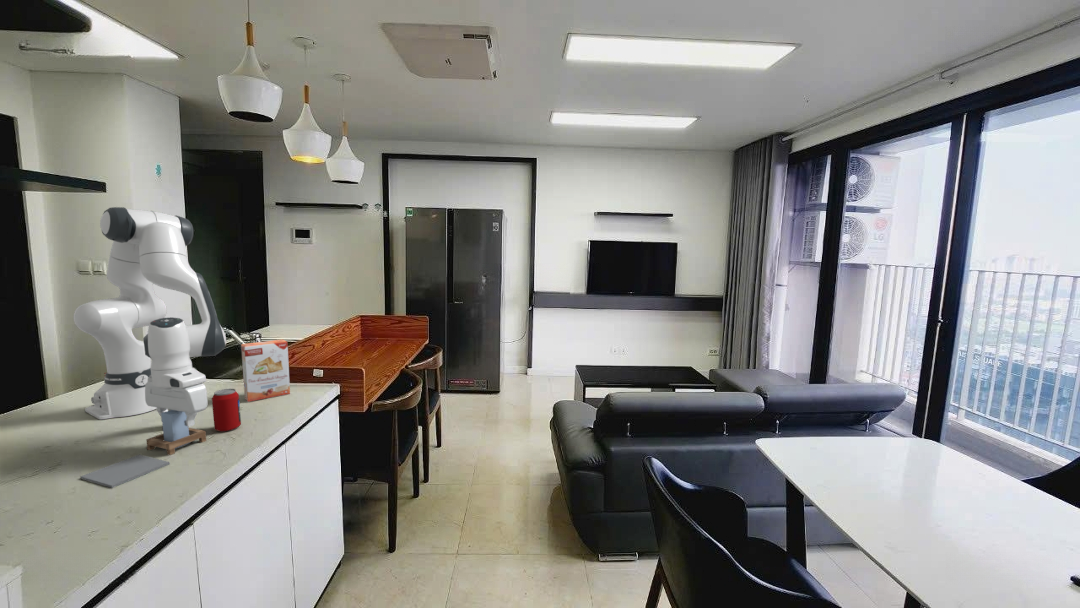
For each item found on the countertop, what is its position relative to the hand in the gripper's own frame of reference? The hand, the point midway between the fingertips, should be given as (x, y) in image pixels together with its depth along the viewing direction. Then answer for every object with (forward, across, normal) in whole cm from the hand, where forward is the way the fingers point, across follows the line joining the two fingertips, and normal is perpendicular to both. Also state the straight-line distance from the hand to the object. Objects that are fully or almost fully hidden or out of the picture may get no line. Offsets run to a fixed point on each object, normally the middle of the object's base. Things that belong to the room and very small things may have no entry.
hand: (178, 423), depth 123 cm
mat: (+6, +3, -14) cm, 16 cm away
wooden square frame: (+6, -1, 0) cm, 6 cm away
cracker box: (+6, -13, +39) cm, 41 cm away
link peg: (+6, -1, 0) cm, 6 cm away
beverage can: (+7, +2, +13) cm, 14 cm away
